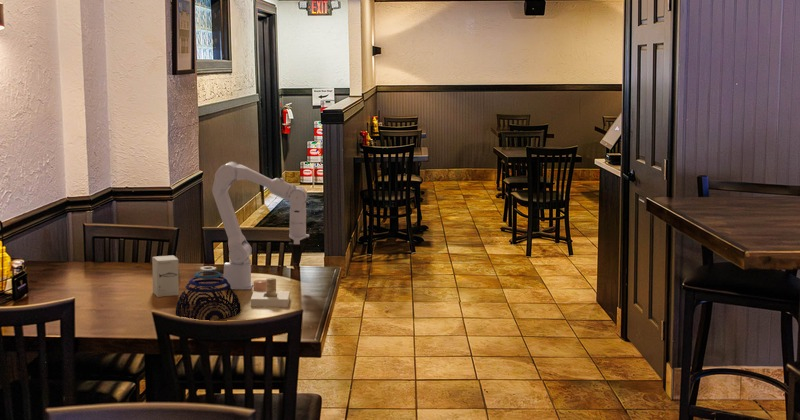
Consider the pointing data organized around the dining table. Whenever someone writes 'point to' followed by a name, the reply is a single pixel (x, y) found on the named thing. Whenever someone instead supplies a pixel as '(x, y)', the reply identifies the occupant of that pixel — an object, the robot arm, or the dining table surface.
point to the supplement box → (165, 276)
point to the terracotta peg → (259, 285)
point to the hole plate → (270, 299)
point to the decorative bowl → (210, 314)
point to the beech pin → (270, 287)
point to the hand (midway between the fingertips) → (297, 260)
